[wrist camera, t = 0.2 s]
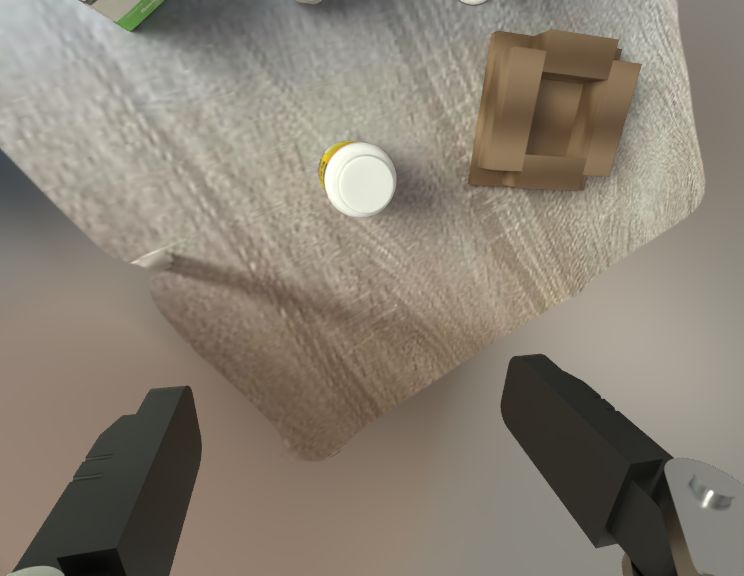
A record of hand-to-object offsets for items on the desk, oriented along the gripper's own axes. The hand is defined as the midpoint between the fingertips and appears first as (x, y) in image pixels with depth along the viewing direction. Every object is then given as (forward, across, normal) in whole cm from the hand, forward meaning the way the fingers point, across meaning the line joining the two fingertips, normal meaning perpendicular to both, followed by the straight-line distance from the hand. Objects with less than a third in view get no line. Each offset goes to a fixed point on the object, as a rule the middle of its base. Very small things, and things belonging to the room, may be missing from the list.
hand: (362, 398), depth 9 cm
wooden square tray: (+29, -23, -8) cm, 38 cm away
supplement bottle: (+29, -4, -3) cm, 29 cm away
